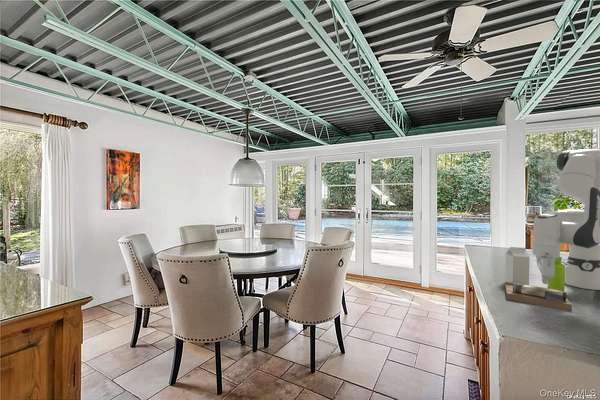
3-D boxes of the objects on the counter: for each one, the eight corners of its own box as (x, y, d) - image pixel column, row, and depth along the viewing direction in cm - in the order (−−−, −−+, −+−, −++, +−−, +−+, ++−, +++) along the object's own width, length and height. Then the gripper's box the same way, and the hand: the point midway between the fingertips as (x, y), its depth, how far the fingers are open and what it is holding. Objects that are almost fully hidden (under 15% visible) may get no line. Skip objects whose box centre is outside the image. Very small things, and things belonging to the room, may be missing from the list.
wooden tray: (505, 286, 135) (505, 275, 135) (560, 295, 124) (560, 283, 124) (507, 299, 117) (507, 286, 117) (571, 311, 106) (572, 296, 106)
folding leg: (513, 292, 119) (513, 284, 119) (512, 290, 122) (512, 282, 122) (566, 301, 109) (566, 293, 109) (564, 298, 112) (565, 290, 112)
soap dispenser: (569, 294, 125) (570, 251, 125) (549, 291, 129) (550, 249, 129) (565, 291, 130) (566, 249, 130) (546, 288, 134) (547, 247, 134)
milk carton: (528, 287, 136) (529, 248, 136) (512, 286, 137) (513, 248, 137) (520, 283, 143) (521, 246, 143) (505, 281, 144) (505, 245, 144)
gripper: (560, 256, 108) (559, 291, 108) (552, 248, 124) (551, 278, 125) (538, 254, 112) (538, 288, 112) (533, 246, 128) (533, 276, 128)
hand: (544, 283), depth 118 cm, fingers closed
